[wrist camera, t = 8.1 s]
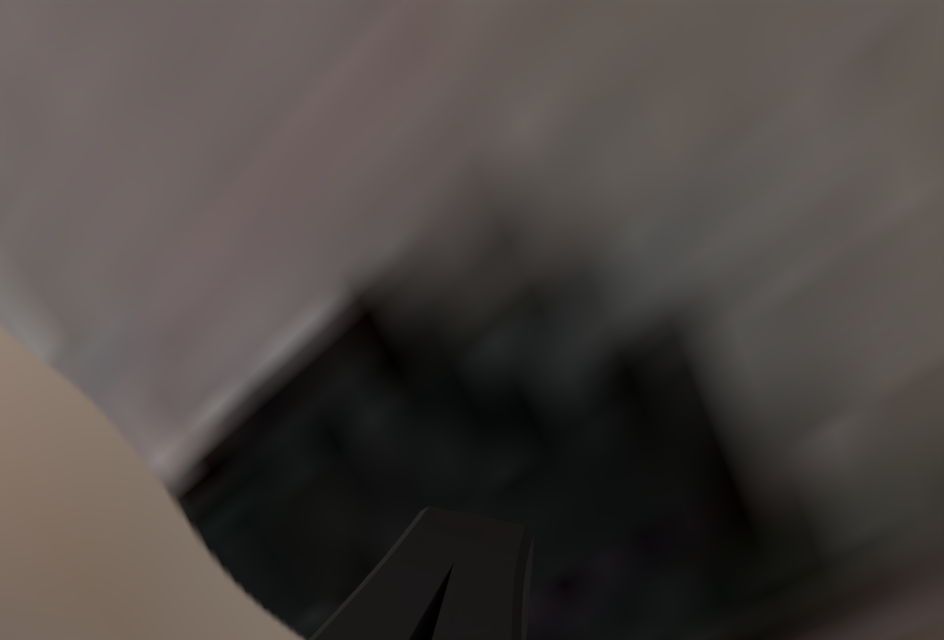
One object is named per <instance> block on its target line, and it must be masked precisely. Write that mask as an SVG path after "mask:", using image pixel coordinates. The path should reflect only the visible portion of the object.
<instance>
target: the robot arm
mask: <svg viewBox="0 0 944 640" xmlns="http://www.w3.org/2000/svg"><path fill="white" fill-rule="evenodd" d="M533 544H534V534H533V533H532V532H531V531H530V530H529V529H528V528H527V526H525V525H520V524H515V523H510V522H505V521H500V520H495V519H490V518H485V517H480V516H475V515H470V514H465V513H460V512H456V511H451V510H446V509H441V508H436V507H431V506H429V507H427V508H425V509H424V510H422V511H420V513H419V514H418V515H417V517H416V518H415V519H414V521H413V522H412V523H411V525H410V526H409V527H408V528H407V530H406V531H405V532H404V533H403V535H402V536H401V537H400V538H399V540H398V541H397V542H396V543H395V545H394V546H393V547H392V548H391V549H390V551H389V552H388V553H387V554H386V555H385V557H384V558H383V559H382V560H381V561H380V563H379V564H378V565H377V566H376V567H375V568H374V569H373V571H372V572H371V573H370V574H369V575H368V576H367V577H366V579H365V580H364V581H363V582H362V583H361V584H360V586H359V587H358V588H357V589H356V590H355V591H354V592H353V593H352V594H351V595H350V596H349V597H348V599H347V600H346V601H345V602H344V603H343V604H342V605H341V606H340V607H339V608H338V609H337V610H336V611H335V612H334V614H333V615H332V616H331V617H330V618H329V619H328V620H327V621H326V622H325V623H324V624H323V625H322V626H321V627H320V629H319V630H318V631H317V632H316V633H315V634H314V635H313V636H312V637H311V638H310V639H309V640H526V634H527V623H528V610H529V597H530V584H531V570H532V557H533Z"/></svg>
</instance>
